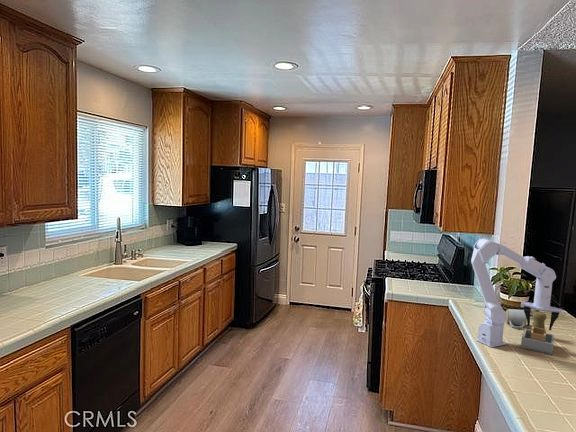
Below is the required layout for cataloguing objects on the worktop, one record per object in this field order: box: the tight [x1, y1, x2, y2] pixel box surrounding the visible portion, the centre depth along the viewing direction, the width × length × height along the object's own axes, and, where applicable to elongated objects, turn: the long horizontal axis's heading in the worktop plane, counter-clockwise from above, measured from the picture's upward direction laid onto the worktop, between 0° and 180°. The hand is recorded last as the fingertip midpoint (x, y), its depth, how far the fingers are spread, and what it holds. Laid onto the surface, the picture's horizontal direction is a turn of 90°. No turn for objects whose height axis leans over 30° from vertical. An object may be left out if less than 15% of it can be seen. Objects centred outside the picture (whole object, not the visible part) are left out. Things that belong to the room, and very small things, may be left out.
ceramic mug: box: [505, 308, 527, 330], centre depth 196 cm, size 11×8×8 cm
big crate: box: [520, 328, 555, 356], centre depth 172 cm, size 13×11×4 cm
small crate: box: [530, 326, 547, 342], centre depth 171 cm, size 9×5×6 cm, turn 146°
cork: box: [530, 311, 547, 330], centre depth 183 cm, size 6×6×11 cm
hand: (539, 327), depth 171 cm, fingers open, 7 cm apart
